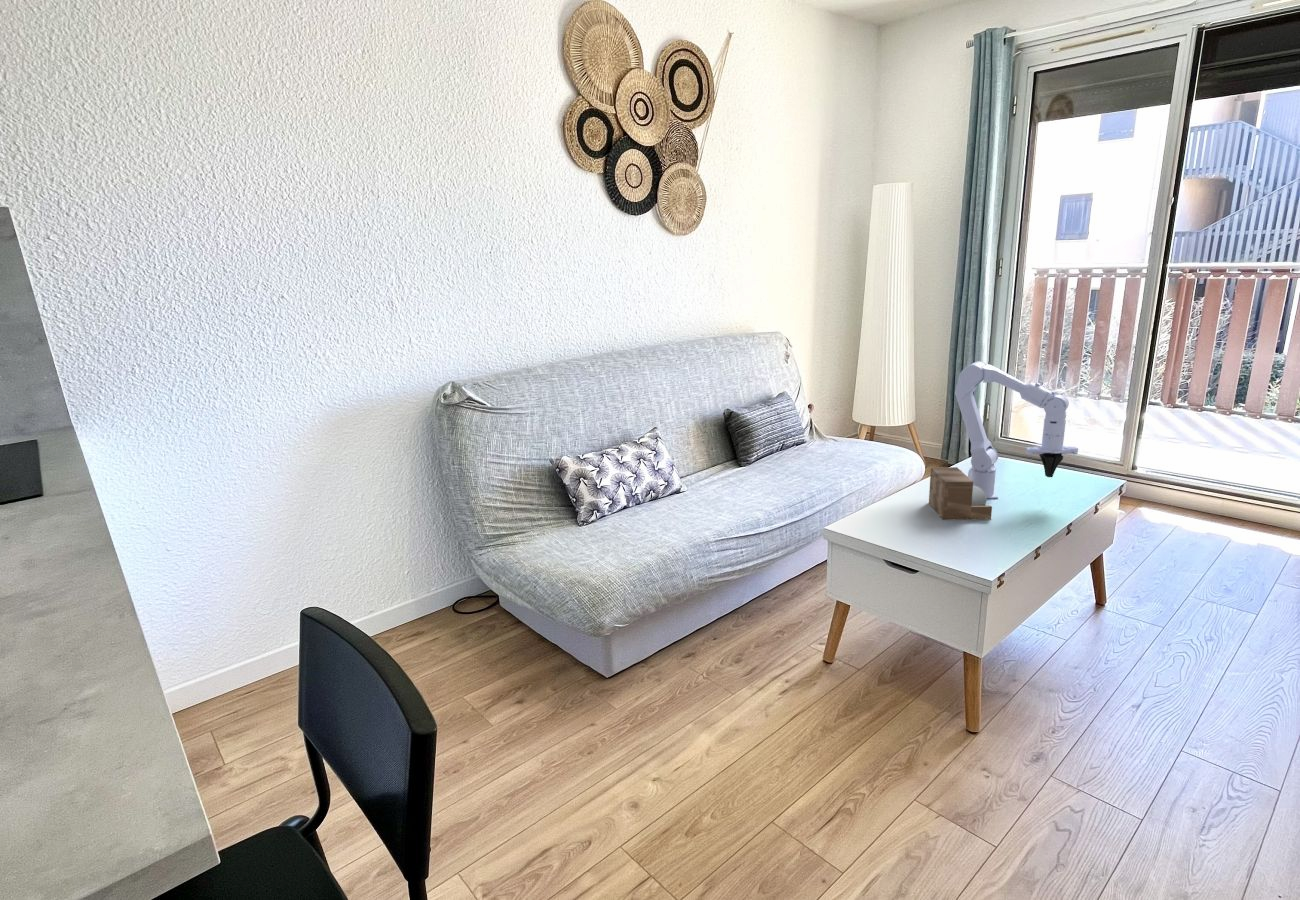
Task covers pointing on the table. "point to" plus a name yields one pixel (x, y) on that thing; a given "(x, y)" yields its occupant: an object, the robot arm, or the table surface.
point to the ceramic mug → (978, 497)
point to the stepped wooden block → (954, 495)
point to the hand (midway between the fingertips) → (1048, 476)
